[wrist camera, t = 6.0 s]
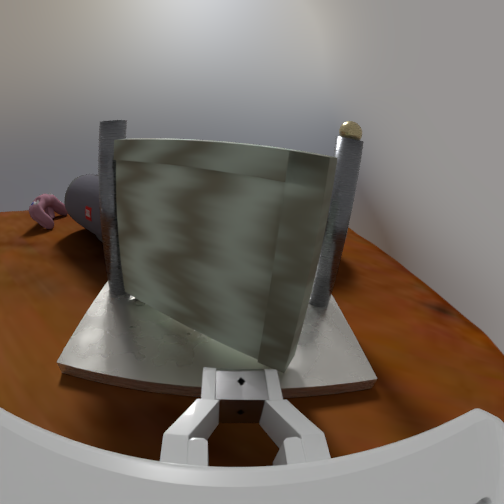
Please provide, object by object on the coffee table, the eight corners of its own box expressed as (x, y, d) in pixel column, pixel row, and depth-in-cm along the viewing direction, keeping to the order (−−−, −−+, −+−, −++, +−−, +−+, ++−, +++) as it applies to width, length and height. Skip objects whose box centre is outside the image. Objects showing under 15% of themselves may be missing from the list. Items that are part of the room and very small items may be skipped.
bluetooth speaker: (64, 233, 39) (59, 176, 35) (106, 220, 46) (104, 168, 42) (136, 281, 29) (131, 194, 25) (191, 256, 36) (193, 182, 32)
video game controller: (56, 221, 48) (42, 194, 44) (71, 211, 48) (56, 184, 45) (38, 238, 39) (21, 207, 36) (54, 227, 40) (37, 195, 36)
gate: (122, 292, 23) (114, 139, 18) (138, 284, 25) (133, 138, 19) (284, 373, 17) (330, 157, 12) (294, 355, 19) (337, 157, 13)
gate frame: (61, 372, 15) (10, 99, 8) (120, 273, 30) (116, 108, 22) (371, 388, 18) (460, 133, 10) (319, 286, 33) (349, 126, 25)
